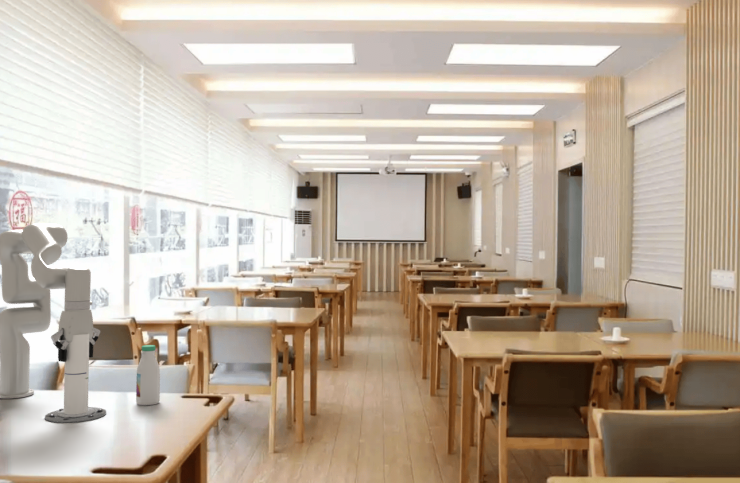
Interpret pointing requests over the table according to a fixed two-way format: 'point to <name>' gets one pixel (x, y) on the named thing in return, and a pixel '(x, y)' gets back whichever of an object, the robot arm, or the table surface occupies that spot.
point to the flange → (75, 416)
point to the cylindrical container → (77, 375)
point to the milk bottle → (148, 378)
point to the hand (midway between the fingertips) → (75, 359)
